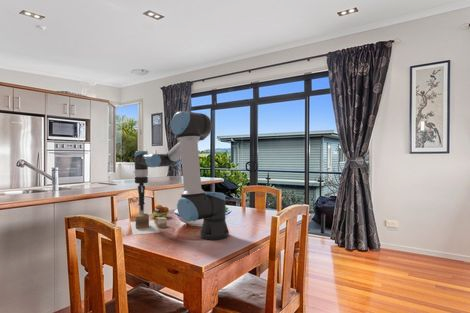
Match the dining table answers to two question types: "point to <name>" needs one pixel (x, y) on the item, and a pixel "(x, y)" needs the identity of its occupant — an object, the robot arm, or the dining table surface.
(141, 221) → the walnut block
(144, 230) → the placemat
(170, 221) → the dining table surface
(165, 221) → the maple block
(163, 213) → the cheeseburger
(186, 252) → the dining table surface
